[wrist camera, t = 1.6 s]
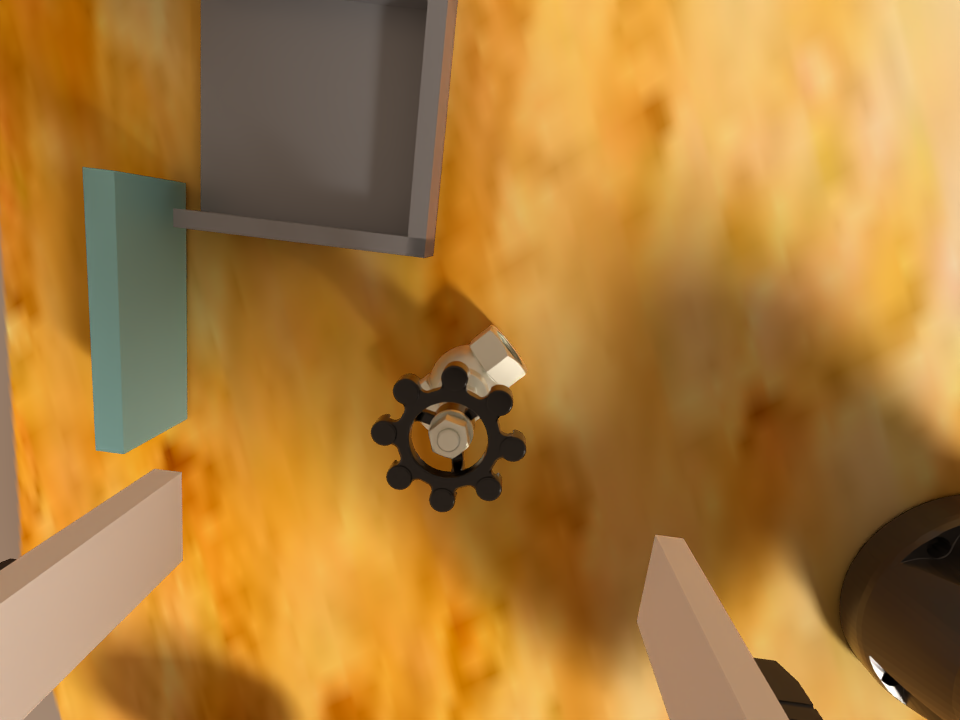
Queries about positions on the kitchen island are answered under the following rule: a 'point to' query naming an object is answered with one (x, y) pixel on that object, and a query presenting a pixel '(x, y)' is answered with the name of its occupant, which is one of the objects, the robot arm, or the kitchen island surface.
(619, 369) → the kitchen island surface
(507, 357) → the valve
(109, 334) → the gate
